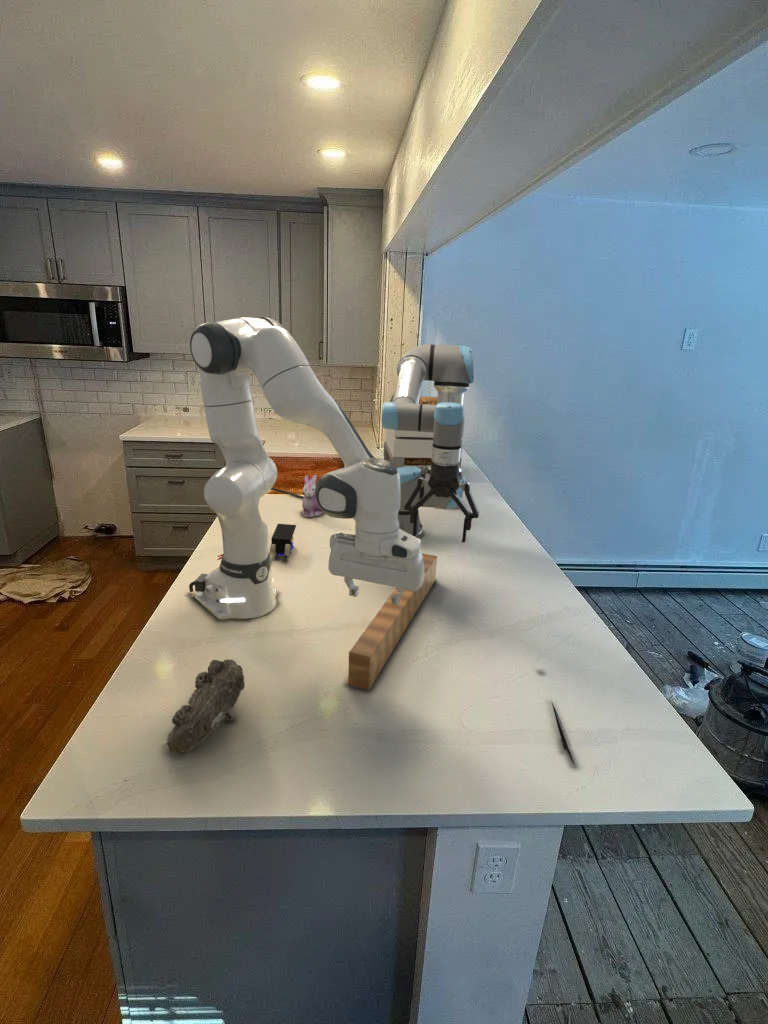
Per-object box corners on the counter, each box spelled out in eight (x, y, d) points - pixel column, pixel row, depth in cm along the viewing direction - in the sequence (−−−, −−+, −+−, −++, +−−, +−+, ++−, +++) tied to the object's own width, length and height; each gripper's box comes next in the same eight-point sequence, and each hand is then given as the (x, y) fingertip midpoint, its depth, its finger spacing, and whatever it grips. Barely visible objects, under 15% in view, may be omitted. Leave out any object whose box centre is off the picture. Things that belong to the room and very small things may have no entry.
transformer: (382, 463, 289) (386, 382, 275) (445, 464, 293) (451, 384, 279) (390, 482, 257) (394, 392, 243) (460, 483, 261) (468, 394, 247)
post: (419, 577, 168) (421, 553, 165) (435, 580, 167) (437, 556, 164) (348, 684, 119) (348, 652, 116) (368, 690, 118) (370, 657, 115)
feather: (541, 676, 126) (546, 670, 126) (574, 768, 100) (581, 761, 99) (535, 672, 126) (540, 666, 126) (566, 764, 100) (573, 756, 99)
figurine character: (291, 566, 174) (297, 542, 188) (290, 545, 171) (296, 522, 184) (269, 566, 174) (276, 541, 187) (268, 544, 171) (275, 521, 184)
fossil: (192, 660, 117) (244, 628, 112) (224, 691, 120) (276, 661, 115) (142, 746, 98) (202, 712, 93) (182, 779, 101) (242, 748, 96)
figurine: (305, 519, 209) (305, 480, 204) (296, 510, 217) (296, 472, 212) (329, 516, 213) (330, 478, 208) (319, 507, 222) (319, 470, 216)
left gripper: (323, 536, 115) (323, 596, 120) (420, 553, 109) (415, 616, 114) (336, 525, 121) (335, 584, 125) (428, 541, 115) (424, 602, 119)
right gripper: (396, 461, 149) (392, 536, 156) (492, 471, 143) (483, 548, 150) (402, 455, 155) (398, 527, 162) (494, 464, 150) (485, 538, 157)
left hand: (374, 599), depth 120 cm, fingers open, 8 cm apart
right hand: (439, 537), depth 156 cm, fingers open, 13 cm apart
